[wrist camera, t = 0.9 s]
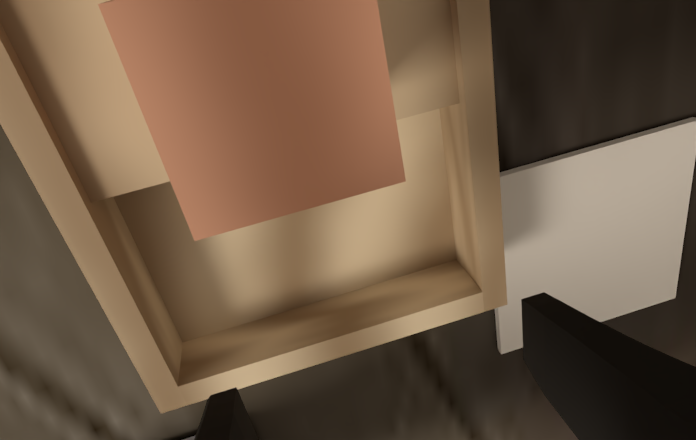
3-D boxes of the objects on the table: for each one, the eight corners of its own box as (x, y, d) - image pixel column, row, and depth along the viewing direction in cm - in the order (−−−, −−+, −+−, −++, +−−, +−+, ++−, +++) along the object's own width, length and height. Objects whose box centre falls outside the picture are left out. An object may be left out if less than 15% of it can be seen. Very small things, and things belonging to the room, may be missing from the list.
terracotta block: (204, 147, 15) (194, 240, 10) (147, -11, 13) (98, 4, 8) (345, 110, 16) (406, 181, 11) (312, -50, 14) (367, -59, 8)
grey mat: (497, 349, 26) (501, 354, 26) (484, 176, 22) (488, 180, 21) (669, 293, 27) (675, 297, 27) (693, 117, 23) (700, 119, 22)
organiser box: (169, 351, 22) (161, 413, 19) (-37, -62, 14) (-107, -70, 11) (470, 260, 23) (507, 304, 20) (428, -161, 16) (477, -192, 13)
